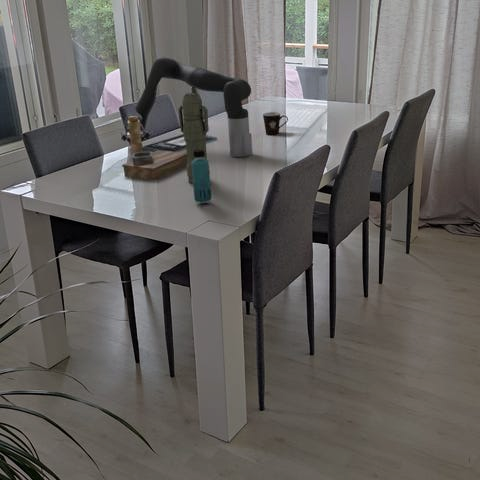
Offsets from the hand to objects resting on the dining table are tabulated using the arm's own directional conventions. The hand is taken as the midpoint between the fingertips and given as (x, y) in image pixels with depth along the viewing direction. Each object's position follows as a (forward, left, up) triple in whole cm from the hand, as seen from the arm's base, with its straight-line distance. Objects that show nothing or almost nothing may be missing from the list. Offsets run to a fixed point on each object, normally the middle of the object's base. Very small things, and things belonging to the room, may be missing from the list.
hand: (135, 139), depth 299 cm
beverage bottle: (-58, +34, -11) cm, 68 cm away
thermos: (-41, +12, -11) cm, 45 cm away
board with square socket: (-14, +5, -11) cm, 19 cm away
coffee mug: (-32, -68, -11) cm, 76 cm away
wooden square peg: (+2, -2, -10) cm, 11 cm away
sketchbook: (+4, -37, -12) cm, 39 cm away
